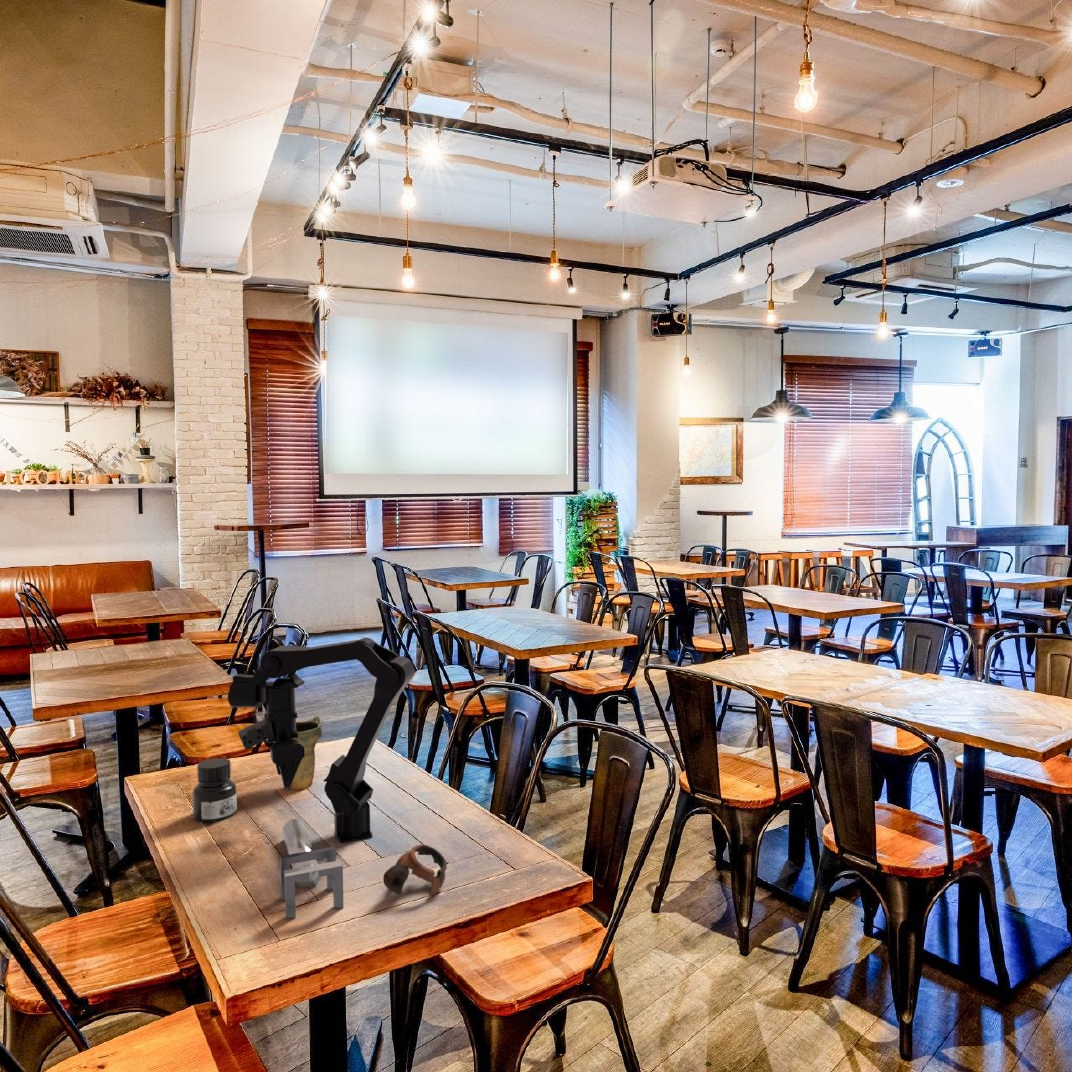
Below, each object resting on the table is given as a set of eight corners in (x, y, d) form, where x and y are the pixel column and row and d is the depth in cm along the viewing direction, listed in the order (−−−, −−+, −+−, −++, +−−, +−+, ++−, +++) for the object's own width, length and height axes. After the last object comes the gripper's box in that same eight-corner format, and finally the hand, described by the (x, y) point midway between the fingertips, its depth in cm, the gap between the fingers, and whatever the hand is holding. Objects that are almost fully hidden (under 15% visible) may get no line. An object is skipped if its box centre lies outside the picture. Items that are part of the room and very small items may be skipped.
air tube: (280, 841, 164) (283, 819, 164) (303, 840, 166) (305, 818, 166) (294, 889, 144) (297, 864, 144) (319, 887, 146) (322, 863, 146)
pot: (285, 805, 184) (283, 727, 183) (251, 796, 190) (249, 721, 189) (339, 781, 199) (337, 709, 198) (305, 774, 204) (304, 704, 203)
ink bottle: (205, 828, 171) (204, 773, 171) (183, 819, 177) (182, 765, 176) (246, 814, 179) (245, 761, 178) (224, 805, 184) (222, 753, 184)
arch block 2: (342, 906, 139) (341, 860, 138) (343, 909, 138) (342, 862, 137) (285, 918, 135) (284, 870, 135) (286, 921, 134) (285, 873, 133)
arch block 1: (335, 888, 145) (334, 846, 145) (336, 891, 144) (335, 849, 144) (281, 899, 141) (279, 856, 141) (281, 902, 140) (280, 859, 140)
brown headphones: (411, 871, 151) (431, 836, 150) (440, 909, 146) (461, 872, 145) (363, 882, 142) (383, 845, 141) (392, 923, 136) (414, 884, 135)
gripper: (235, 702, 173) (238, 774, 174) (244, 724, 156) (247, 803, 157) (289, 696, 178) (292, 765, 178) (303, 716, 161) (306, 793, 162)
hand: (283, 781), depth 169 cm, fingers open, 9 cm apart
